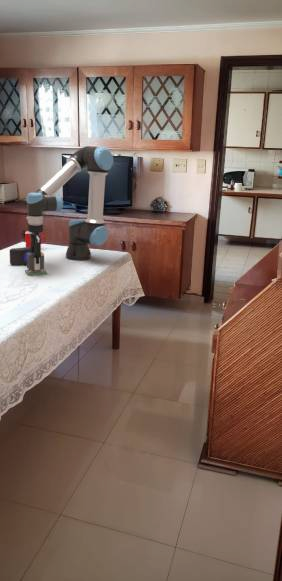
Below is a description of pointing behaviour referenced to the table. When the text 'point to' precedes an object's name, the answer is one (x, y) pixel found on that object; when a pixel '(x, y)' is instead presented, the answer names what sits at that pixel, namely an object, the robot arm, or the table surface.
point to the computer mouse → (19, 256)
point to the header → (36, 272)
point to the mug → (28, 239)
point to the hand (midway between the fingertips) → (35, 267)
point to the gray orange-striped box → (31, 261)
